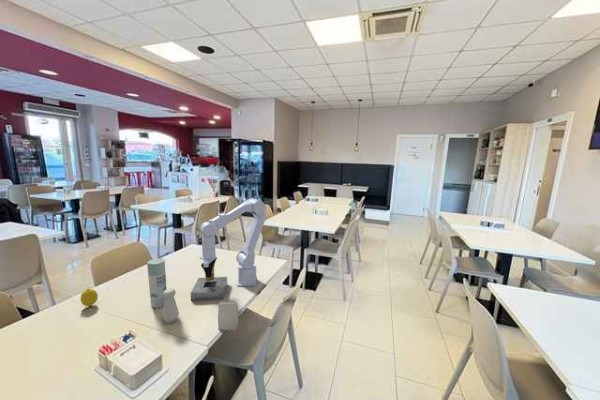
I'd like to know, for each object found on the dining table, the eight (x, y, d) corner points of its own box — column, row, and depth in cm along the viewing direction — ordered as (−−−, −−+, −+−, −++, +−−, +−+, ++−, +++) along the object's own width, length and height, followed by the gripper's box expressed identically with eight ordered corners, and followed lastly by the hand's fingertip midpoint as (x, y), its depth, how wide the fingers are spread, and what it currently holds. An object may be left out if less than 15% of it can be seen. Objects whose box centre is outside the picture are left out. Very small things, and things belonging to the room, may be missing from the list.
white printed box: (235, 330, 96) (235, 306, 94) (218, 329, 96) (217, 305, 94) (238, 324, 99) (238, 300, 98) (221, 323, 100) (221, 300, 98)
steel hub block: (227, 284, 129) (227, 276, 128) (223, 299, 115) (222, 291, 115) (198, 285, 127) (198, 277, 126) (191, 301, 113) (190, 292, 113)
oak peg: (215, 276, 122) (214, 263, 121) (213, 280, 118) (212, 266, 117) (206, 276, 122) (206, 263, 120) (204, 280, 118) (203, 266, 116)
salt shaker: (182, 317, 102) (180, 288, 100) (171, 326, 97) (169, 295, 94) (171, 314, 104) (169, 285, 102) (159, 322, 98) (157, 292, 96)
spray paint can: (160, 309, 107) (156, 265, 103) (147, 307, 108) (143, 263, 105) (170, 300, 113) (168, 259, 110) (158, 298, 114) (155, 257, 111)
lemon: (101, 304, 109) (99, 287, 108) (86, 311, 104) (83, 293, 103) (94, 301, 111) (92, 284, 110) (79, 307, 106) (76, 290, 105)
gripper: (203, 242, 124) (204, 268, 126) (195, 254, 110) (197, 282, 112) (218, 242, 125) (219, 267, 127) (212, 253, 111) (213, 282, 113)
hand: (209, 275), depth 120 cm, fingers closed on oak peg, 4 cm apart
